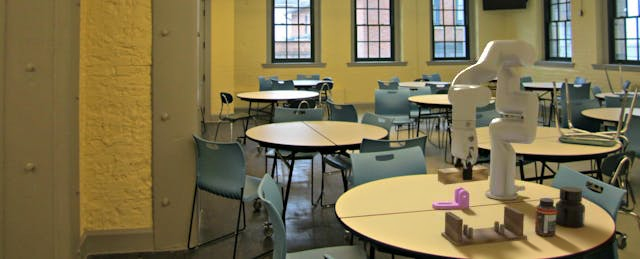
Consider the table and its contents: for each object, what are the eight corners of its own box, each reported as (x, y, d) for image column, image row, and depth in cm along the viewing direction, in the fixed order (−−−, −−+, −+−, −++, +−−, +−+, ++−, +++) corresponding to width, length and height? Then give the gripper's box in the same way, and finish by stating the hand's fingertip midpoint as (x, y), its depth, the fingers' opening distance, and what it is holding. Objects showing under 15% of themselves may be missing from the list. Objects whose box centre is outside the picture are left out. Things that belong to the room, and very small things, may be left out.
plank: (480, 176, 176) (480, 165, 176) (488, 179, 171) (488, 168, 171) (437, 180, 172) (437, 169, 172) (444, 184, 168) (444, 173, 167)
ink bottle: (591, 227, 167) (593, 192, 165) (567, 229, 165) (569, 193, 164) (570, 218, 177) (572, 184, 175) (548, 220, 175) (550, 186, 173)
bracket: (464, 204, 195) (464, 186, 194) (469, 208, 190) (469, 190, 189) (430, 205, 194) (430, 187, 193) (434, 209, 189) (434, 191, 188)
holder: (507, 227, 168) (508, 205, 167) (526, 238, 158) (528, 214, 157) (441, 235, 162) (441, 211, 161) (456, 246, 152) (457, 221, 151)
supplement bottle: (531, 231, 165) (532, 197, 163) (548, 230, 165) (550, 196, 163) (540, 237, 159) (542, 202, 157) (559, 236, 159) (561, 201, 158)
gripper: (488, 127, 161) (487, 183, 165) (461, 120, 178) (460, 170, 181) (466, 129, 160) (466, 185, 163) (441, 121, 176) (441, 172, 179)
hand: (463, 177), depth 172 cm, fingers closed on plank, 5 cm apart
